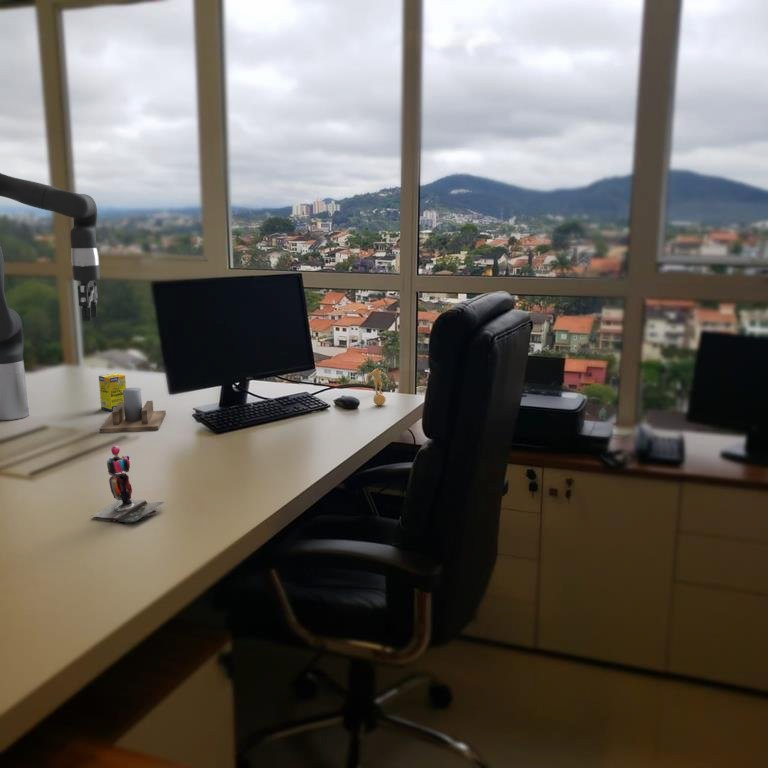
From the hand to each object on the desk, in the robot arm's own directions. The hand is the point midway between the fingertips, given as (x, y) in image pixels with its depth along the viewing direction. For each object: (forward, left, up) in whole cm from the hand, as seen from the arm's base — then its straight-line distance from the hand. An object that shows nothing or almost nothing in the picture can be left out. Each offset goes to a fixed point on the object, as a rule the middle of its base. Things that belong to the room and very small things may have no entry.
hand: (90, 318), depth 219 cm
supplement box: (+3, +9, -30) cm, 32 cm away
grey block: (+12, -10, -29) cm, 33 cm away
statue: (+22, -82, -30) cm, 90 cm away
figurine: (+87, 0, -30) cm, 92 cm away
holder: (+12, -10, -30) cm, 34 cm away
